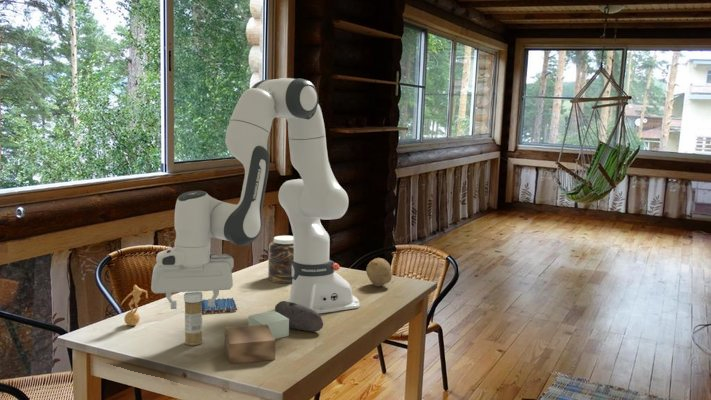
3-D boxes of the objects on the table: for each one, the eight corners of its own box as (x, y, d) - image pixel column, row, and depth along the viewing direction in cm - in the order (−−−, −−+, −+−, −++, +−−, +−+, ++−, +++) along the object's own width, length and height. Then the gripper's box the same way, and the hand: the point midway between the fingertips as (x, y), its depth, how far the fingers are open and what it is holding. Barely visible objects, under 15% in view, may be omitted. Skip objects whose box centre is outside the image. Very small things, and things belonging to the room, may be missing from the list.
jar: (289, 272, 234) (290, 233, 232) (308, 280, 225) (309, 239, 223) (262, 277, 227) (262, 236, 224) (280, 285, 218) (280, 242, 216)
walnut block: (267, 343, 166) (267, 324, 165) (275, 359, 156) (275, 340, 155) (224, 346, 163) (224, 328, 162) (229, 363, 152) (229, 344, 152)
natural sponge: (366, 281, 226) (367, 254, 224) (391, 282, 225) (392, 255, 224) (365, 289, 217) (366, 260, 215) (391, 290, 216) (392, 261, 215)
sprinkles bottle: (202, 339, 167) (202, 290, 165) (202, 345, 163) (202, 295, 161) (184, 340, 166) (184, 290, 164) (184, 346, 162) (183, 296, 160)
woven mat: (238, 313, 189) (238, 307, 189) (201, 316, 186) (201, 309, 186) (234, 303, 199) (234, 296, 199) (200, 305, 196) (200, 298, 196)
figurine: (140, 319, 180) (139, 279, 178) (153, 324, 177) (153, 283, 175) (114, 327, 174) (113, 285, 172) (127, 332, 170) (126, 289, 168)
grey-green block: (274, 327, 178) (274, 310, 177) (288, 336, 172) (288, 318, 171) (248, 333, 173) (248, 315, 173) (262, 342, 167) (262, 324, 166)
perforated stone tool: (327, 331, 176) (328, 307, 175) (317, 337, 171) (317, 312, 170) (283, 321, 183) (284, 298, 182) (272, 326, 179) (272, 302, 178)
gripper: (232, 250, 167) (231, 301, 169) (151, 253, 161) (151, 306, 163) (235, 256, 161) (234, 308, 163) (151, 259, 155) (151, 313, 157)
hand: (192, 307), depth 163 cm, fingers open, 8 cm apart
